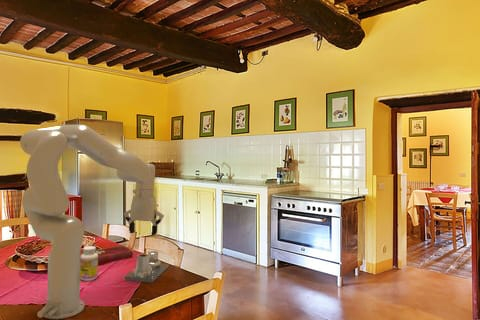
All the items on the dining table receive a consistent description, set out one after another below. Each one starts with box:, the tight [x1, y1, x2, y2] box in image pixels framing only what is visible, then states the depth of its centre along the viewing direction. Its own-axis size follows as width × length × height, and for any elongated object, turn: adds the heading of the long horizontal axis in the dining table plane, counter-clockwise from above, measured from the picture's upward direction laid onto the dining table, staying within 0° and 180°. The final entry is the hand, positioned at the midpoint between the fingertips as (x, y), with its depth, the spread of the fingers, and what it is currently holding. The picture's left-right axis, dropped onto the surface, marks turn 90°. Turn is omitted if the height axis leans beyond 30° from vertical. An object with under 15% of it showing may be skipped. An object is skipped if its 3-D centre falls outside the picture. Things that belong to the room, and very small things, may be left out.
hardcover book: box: [95, 244, 135, 265], centre depth 165 cm, size 12×21×4 cm, turn 133°
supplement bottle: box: [80, 245, 99, 282], centre depth 139 cm, size 7×7×13 cm
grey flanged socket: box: [132, 253, 152, 278], centre depth 142 cm, size 8×8×8 cm
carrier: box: [124, 250, 170, 284], centre depth 147 cm, size 19×12×8 cm, turn 172°
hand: (142, 233), depth 141 cm, fingers open, 9 cm apart
